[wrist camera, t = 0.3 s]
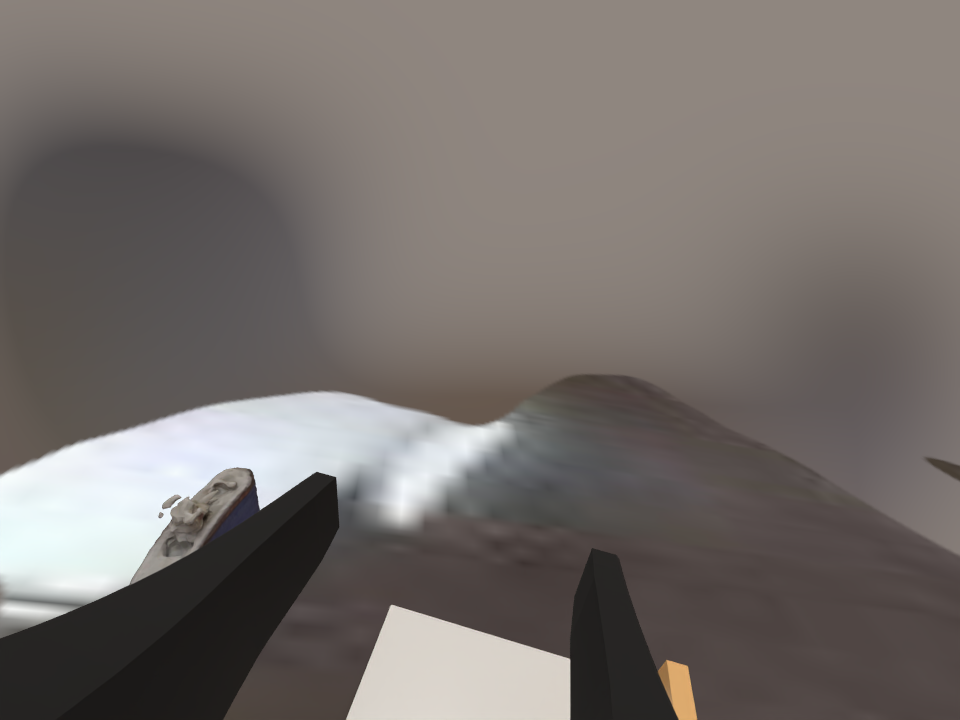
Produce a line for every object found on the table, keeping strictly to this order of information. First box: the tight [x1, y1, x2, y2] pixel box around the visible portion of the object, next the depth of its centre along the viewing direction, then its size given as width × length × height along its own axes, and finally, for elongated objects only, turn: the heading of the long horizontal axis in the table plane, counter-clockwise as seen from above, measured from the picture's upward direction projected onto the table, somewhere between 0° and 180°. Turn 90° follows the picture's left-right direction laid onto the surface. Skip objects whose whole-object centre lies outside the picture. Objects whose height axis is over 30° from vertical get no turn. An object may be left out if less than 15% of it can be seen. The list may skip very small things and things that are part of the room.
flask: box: [130, 468, 260, 585], centre depth 25 cm, size 9×3×11 cm, turn 175°
